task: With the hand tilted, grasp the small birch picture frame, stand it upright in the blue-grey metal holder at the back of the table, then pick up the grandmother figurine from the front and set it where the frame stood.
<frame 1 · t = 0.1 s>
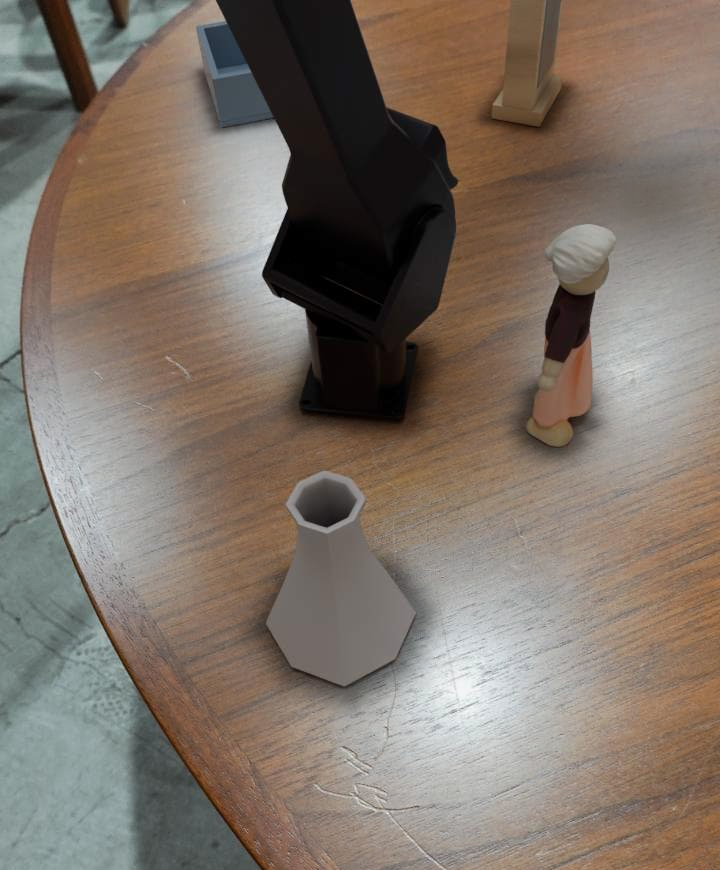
grandmother figurine: (555, 413, 53), on the table
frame: (526, 104, 73), on the table
flask: (341, 622, 46), on the table
holder: (254, 92, 76), on the table
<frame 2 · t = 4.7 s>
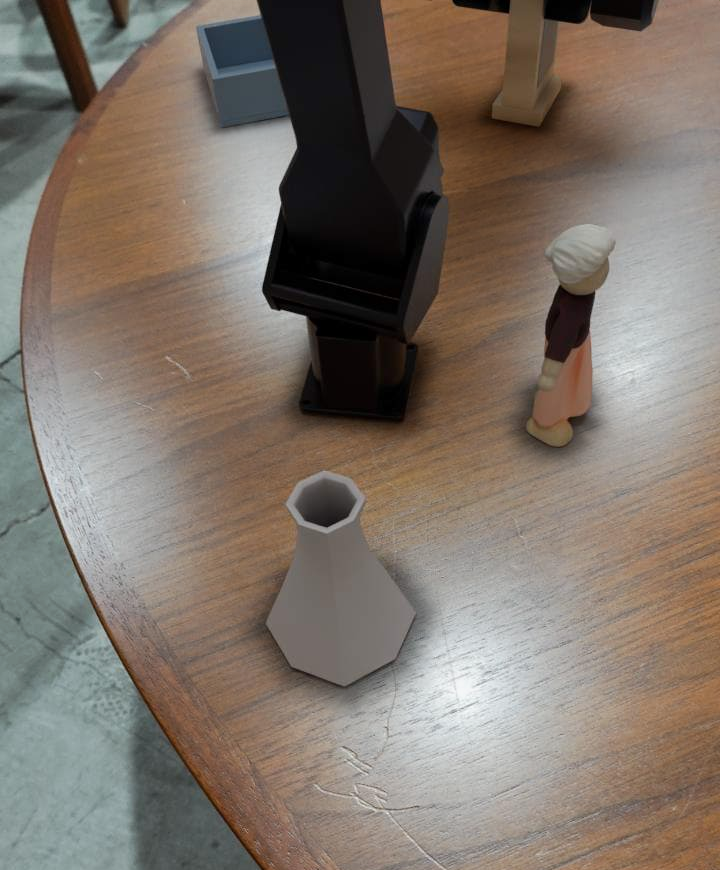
hand: (540, 11, 68), 7 cm above the table, tool tilted 45°, fingers closed on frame, 3 cm apart
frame: (526, 104, 73), on the table, touching gripper
everything else where it was.
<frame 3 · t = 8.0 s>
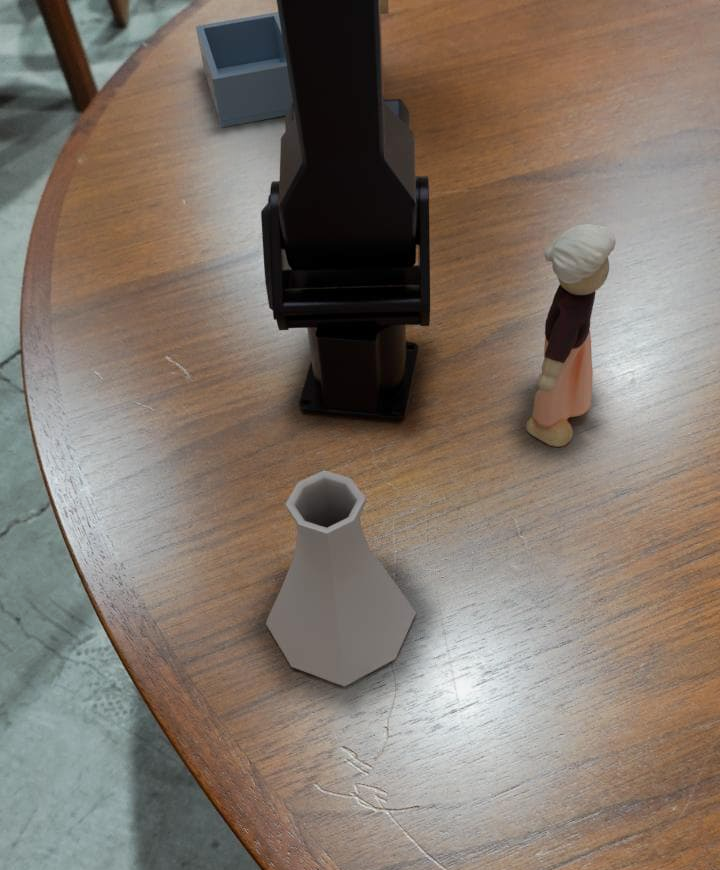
when the fingers open (7 cm above the table, at t = 11.4 s): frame stays where it is, resting on holder.
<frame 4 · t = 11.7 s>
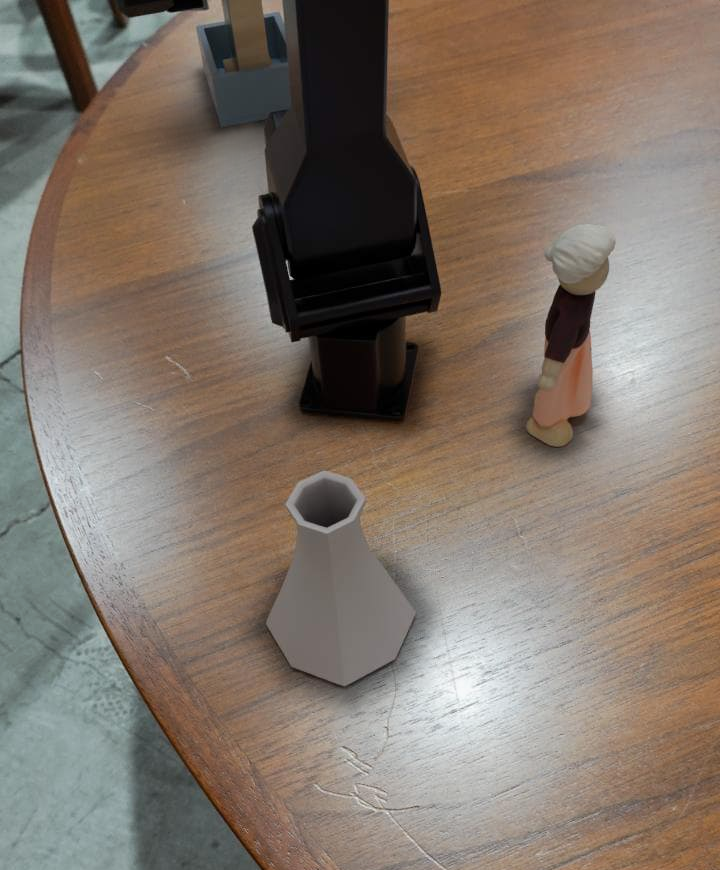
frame: (253, 86, 76), resting on holder
everything else where it was.
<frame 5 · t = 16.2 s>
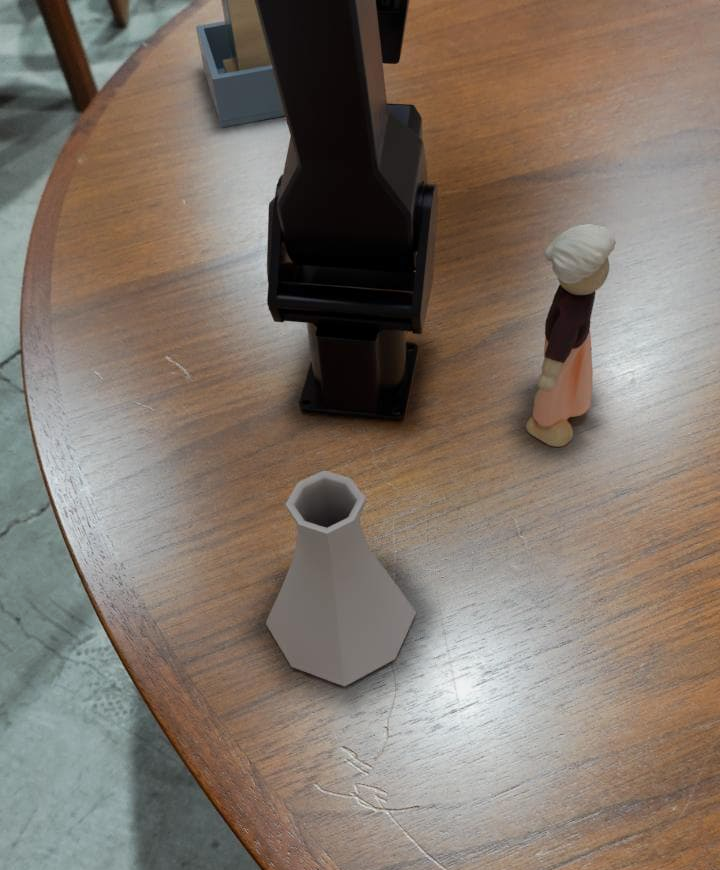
hand: (401, 24, 55), 13 cm above the table, tool pointing down, fingers open, 9 cm apart
nothing on the table moved.
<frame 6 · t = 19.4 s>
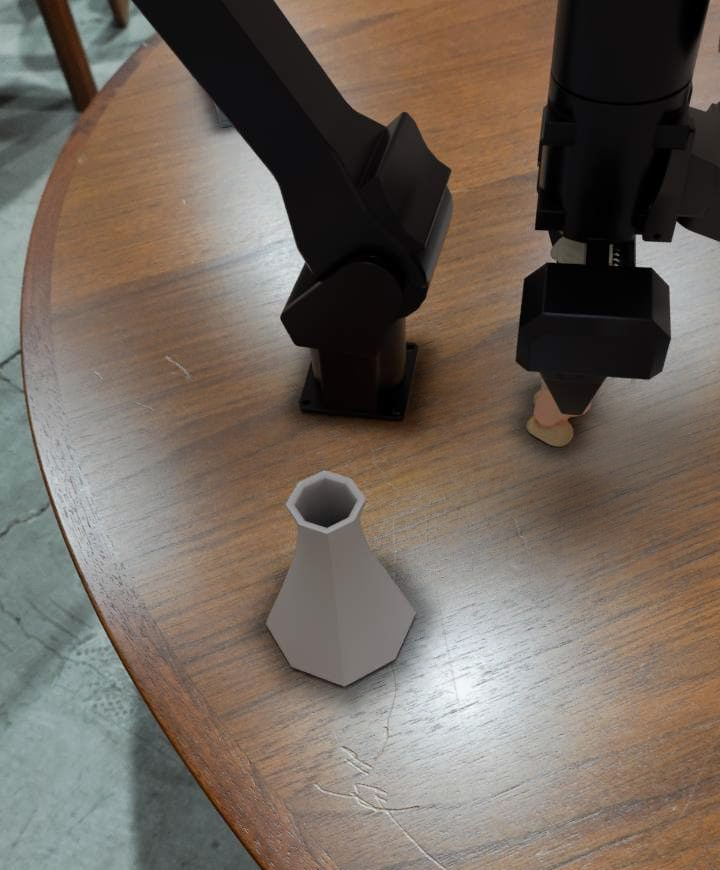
hand: (574, 355, 49), 5 cm above the table, tool pointing down, fingers closed on grandmother figurine, 8 cm apart
grandmother figurine: (554, 413, 53), on the table, touching gripper
everything else where it was.
when the fingers open (5 cm above the table, at t = 26.2 s): grandmother figurine stays where it is, on the table.
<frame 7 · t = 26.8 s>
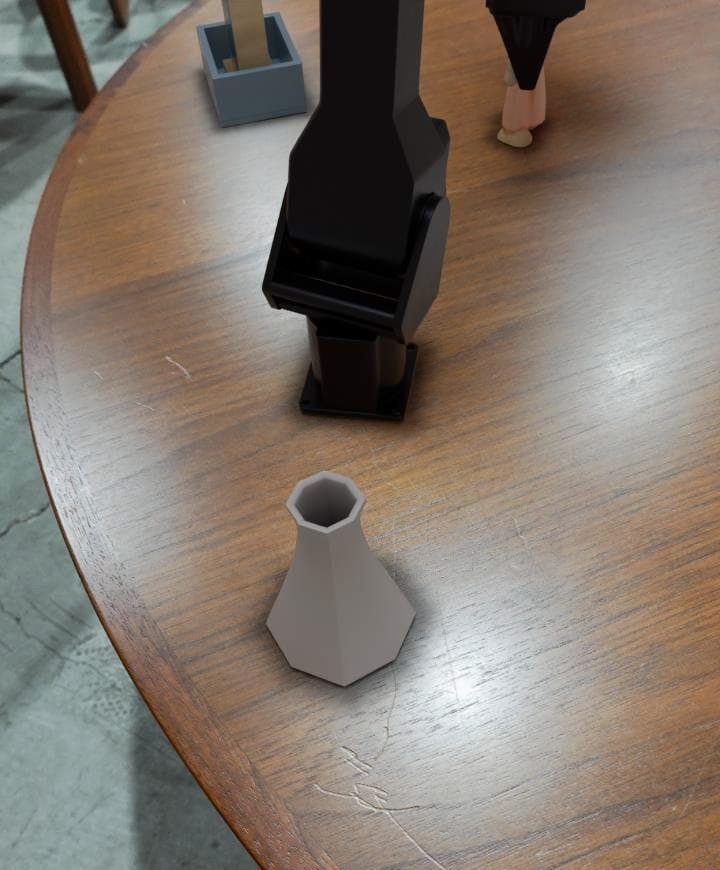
hand: (531, 57, 67), 5 cm above the table, tool pointing down, fingers open, 9 cm apart
grandmother figurine: (519, 130, 71), on the table
everything else where it was.
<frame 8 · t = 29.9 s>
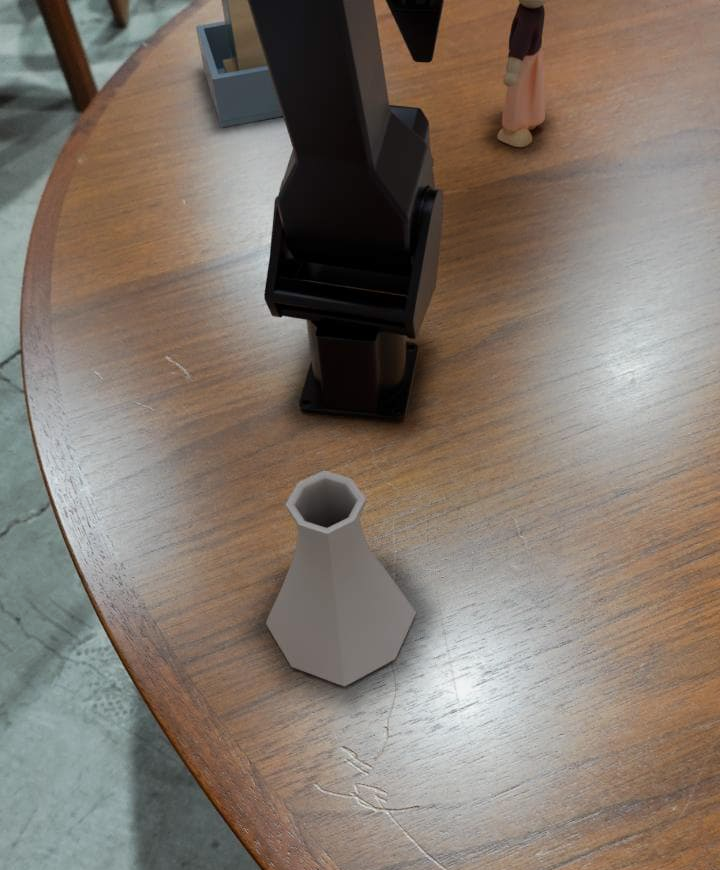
hand: (433, 23, 55), 13 cm above the table, tool pointing down, fingers open, 9 cm apart
nothing on the table moved.
at the end: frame 0.0 cm off-centre in the holder, point 0.5 cm above the holder's base; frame tilted 0°; grandmother figurine inside the target area (0.7 cm from its centre), on the table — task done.
